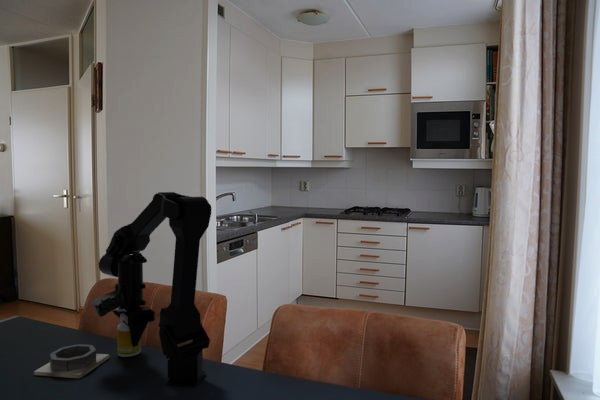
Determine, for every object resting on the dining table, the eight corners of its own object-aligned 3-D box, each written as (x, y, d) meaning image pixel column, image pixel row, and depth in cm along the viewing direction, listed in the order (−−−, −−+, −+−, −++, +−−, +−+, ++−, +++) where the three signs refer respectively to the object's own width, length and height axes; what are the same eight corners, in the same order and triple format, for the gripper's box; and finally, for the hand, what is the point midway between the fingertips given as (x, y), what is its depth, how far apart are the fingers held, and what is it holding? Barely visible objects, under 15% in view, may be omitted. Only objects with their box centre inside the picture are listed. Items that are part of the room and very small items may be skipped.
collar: (109, 357, 104) (109, 344, 103) (79, 378, 93) (79, 363, 93) (68, 354, 105) (67, 341, 105) (34, 374, 94) (33, 360, 94)
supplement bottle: (135, 357, 103) (135, 317, 102) (113, 357, 103) (113, 317, 102) (144, 348, 108) (143, 310, 108) (123, 348, 108) (122, 310, 108)
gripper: (86, 277, 108) (88, 338, 108) (104, 292, 93) (105, 363, 93) (132, 272, 114) (133, 329, 115) (155, 285, 100) (156, 351, 100)
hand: (131, 342), depth 106 cm, fingers closed on supplement bottle, 5 cm apart
